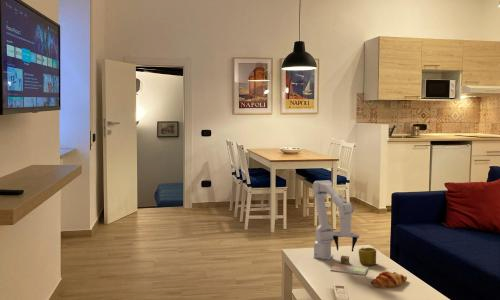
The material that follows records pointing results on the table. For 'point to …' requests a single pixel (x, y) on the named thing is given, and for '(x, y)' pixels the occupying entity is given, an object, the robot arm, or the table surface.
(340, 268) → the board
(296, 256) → the table surface
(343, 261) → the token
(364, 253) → the mug
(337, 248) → the robot arm
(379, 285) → the croissant
